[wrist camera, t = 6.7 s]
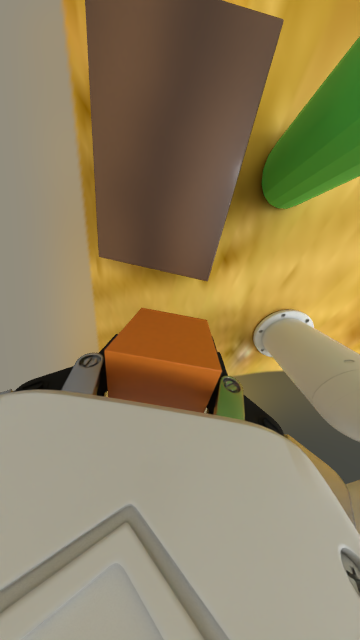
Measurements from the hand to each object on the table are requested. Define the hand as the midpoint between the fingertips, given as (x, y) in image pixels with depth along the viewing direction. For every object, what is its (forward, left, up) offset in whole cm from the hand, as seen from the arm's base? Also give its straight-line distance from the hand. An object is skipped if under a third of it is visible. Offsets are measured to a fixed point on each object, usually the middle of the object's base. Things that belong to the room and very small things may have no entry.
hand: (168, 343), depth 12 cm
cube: (0, 0, 0) cm, 0 cm away
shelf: (+3, -13, -20) cm, 24 cm away
